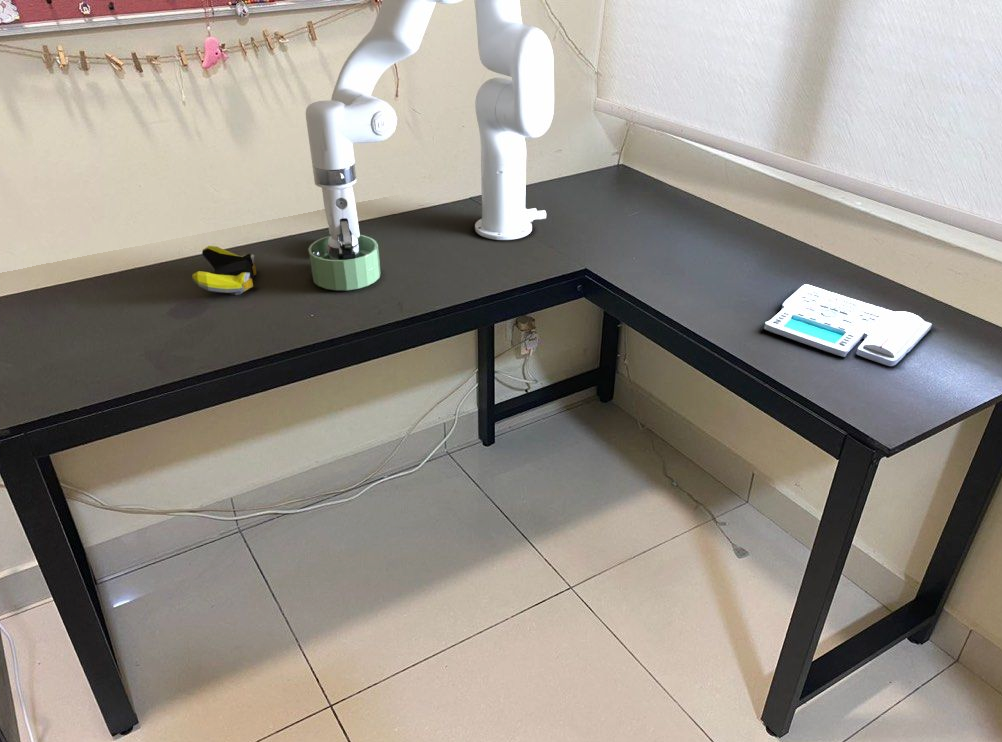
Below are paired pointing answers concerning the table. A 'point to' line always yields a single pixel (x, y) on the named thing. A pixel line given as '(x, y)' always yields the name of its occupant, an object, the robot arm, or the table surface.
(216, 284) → the gaming controller
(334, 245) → the pill bottle
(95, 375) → the table surface
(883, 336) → the office telephone
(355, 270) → the green bowl
